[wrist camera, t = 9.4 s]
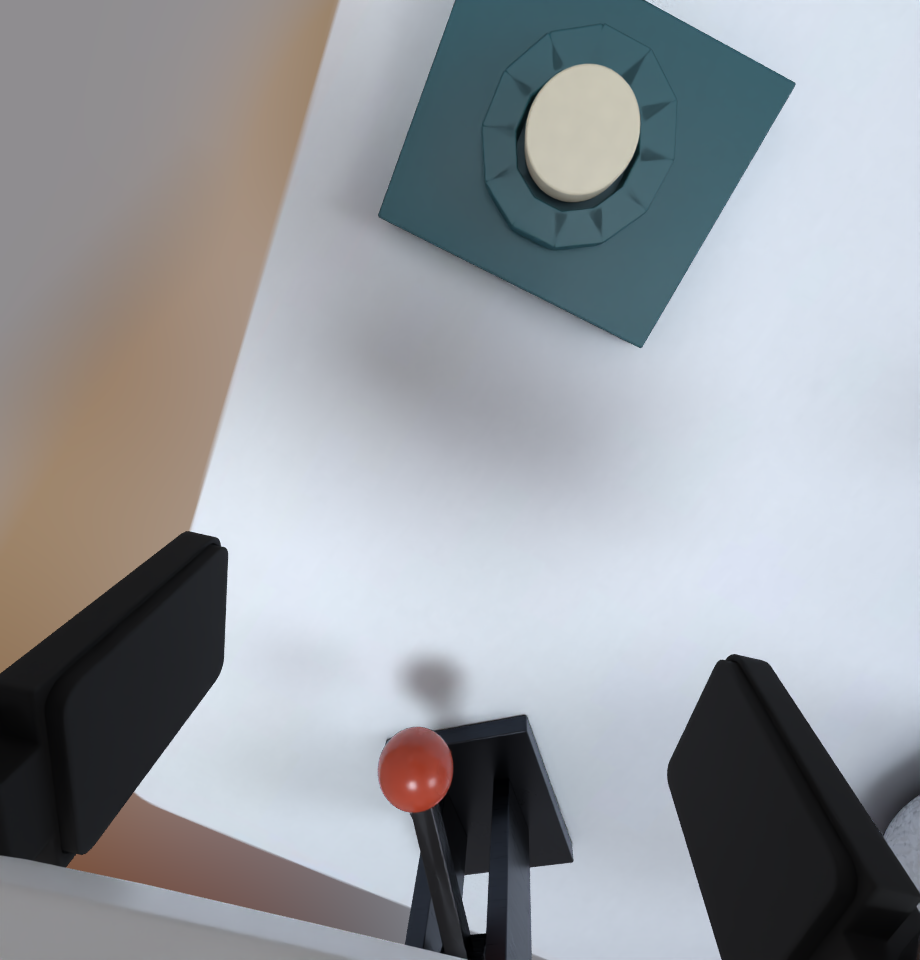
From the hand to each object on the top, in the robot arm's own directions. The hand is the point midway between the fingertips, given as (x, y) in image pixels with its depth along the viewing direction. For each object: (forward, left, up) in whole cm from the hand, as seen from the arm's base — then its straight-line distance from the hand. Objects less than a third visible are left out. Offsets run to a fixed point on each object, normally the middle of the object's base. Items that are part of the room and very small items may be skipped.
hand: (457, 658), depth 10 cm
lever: (+7, -19, -10) cm, 22 cm away
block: (-2, +11, -17) cm, 20 cm away
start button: (-2, +11, -13) cm, 18 cm away
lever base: (+10, -22, -17) cm, 29 cm away
